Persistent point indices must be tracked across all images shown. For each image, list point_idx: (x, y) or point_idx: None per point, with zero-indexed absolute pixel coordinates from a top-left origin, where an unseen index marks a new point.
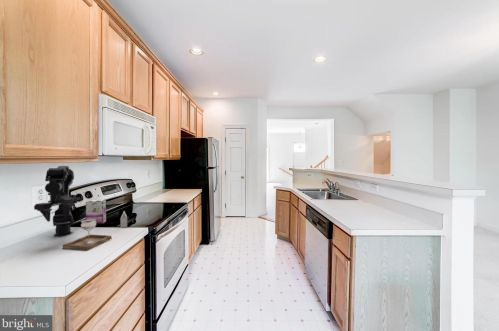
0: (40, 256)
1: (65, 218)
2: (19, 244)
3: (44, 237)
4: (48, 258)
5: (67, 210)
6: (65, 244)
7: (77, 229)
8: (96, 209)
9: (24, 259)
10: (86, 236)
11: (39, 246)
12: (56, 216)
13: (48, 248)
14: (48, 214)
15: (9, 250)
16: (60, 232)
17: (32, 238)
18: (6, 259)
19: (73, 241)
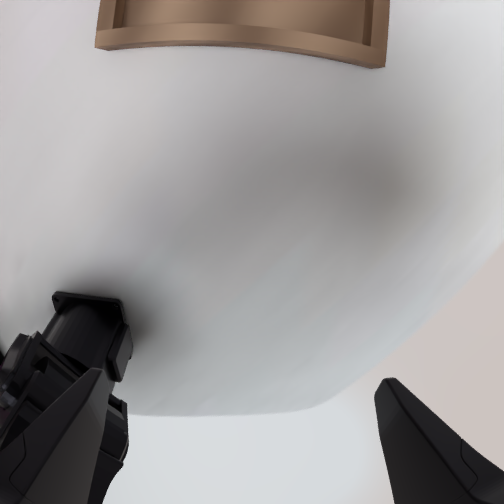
0: (471, 128)
1: (58, 394)
2: (281, 393)
3: (168, 375)
4: (490, 63)
5: (49, 459)
6: (371, 52)
7: (14, 310)
8: None
9: (491, 185)
10: (149, 25)
11: (318, 281)
12: (109, 457)
13: (359, 187)
14: (473, 456)
15: (361, 364)
16: (116, 333)
17: (195, 407)
18: (471, 272)
19: (297, 33)
